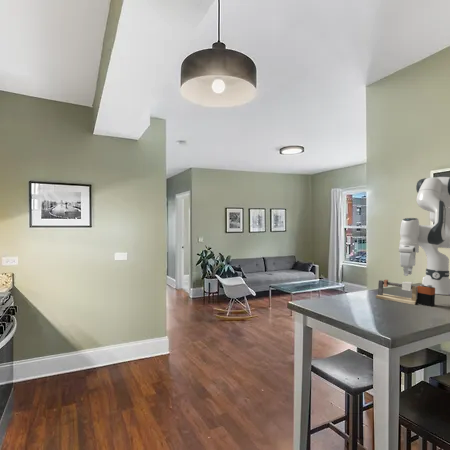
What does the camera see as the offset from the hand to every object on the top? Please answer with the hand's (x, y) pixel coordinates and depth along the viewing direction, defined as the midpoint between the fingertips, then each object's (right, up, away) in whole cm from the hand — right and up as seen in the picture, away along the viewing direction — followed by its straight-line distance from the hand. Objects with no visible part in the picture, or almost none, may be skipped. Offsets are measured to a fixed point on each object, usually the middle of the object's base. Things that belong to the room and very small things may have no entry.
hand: (407, 275), depth 160 cm
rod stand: (-4, -14, +3) cm, 15 cm away
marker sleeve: (0, -8, 0) cm, 8 cm away
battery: (+6, -15, -5) cm, 16 cm away
